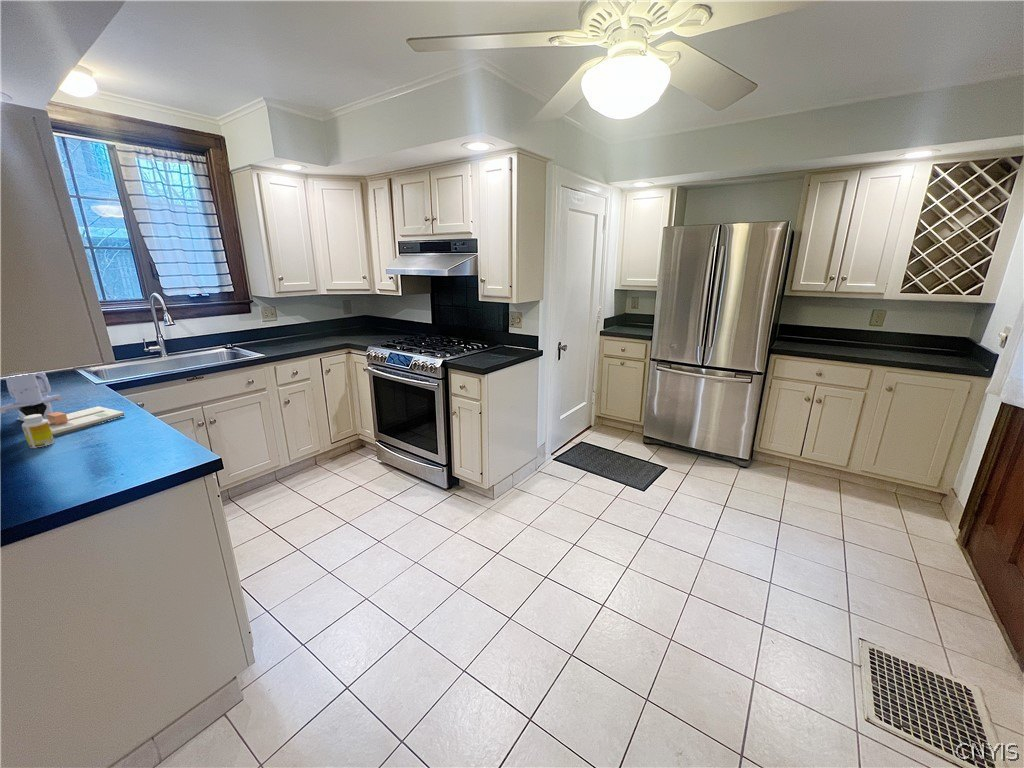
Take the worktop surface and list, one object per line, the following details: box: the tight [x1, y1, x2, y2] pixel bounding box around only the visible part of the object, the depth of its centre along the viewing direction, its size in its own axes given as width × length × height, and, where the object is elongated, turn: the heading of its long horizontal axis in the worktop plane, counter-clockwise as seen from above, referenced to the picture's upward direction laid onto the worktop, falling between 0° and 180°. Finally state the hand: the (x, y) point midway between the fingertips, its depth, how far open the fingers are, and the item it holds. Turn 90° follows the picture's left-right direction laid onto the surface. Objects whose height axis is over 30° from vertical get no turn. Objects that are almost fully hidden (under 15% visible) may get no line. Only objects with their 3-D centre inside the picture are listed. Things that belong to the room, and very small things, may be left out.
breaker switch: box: [46, 411, 68, 424], centre depth 144 cm, size 5×3×4 cm, turn 70°
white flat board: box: [45, 405, 126, 437], centre depth 149 cm, size 16×20×2 cm
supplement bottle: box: [21, 414, 55, 449], centre depth 130 cm, size 6×6×10 cm
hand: (38, 425), depth 139 cm, fingers closed
